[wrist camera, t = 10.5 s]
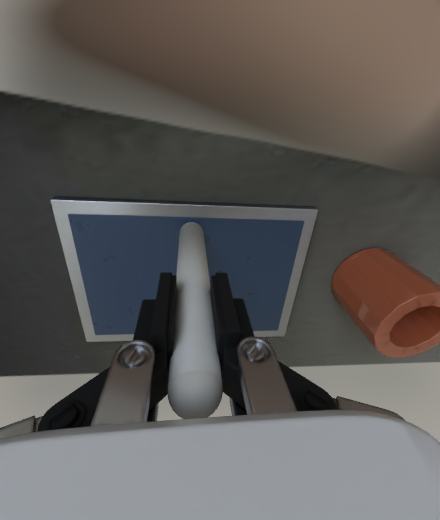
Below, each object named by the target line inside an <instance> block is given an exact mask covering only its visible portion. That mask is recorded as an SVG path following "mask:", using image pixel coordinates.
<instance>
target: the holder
mask: <svg viewBox="0 0 440 520" xmlns="http://www.w3.org/2000/svg"><path fill="white" fill-rule="evenodd" d="M331 288H332V292H333V294H334V296H335V298H336V299H337V301H338V302H339V303H340V304H341V306H342V307H343V308H344V309H345V311H346V312H347V313H348V314H349V316H350V317H351V318H352V319H353V321H354V322H355V323H356V324H357V326H358V327H359V328H360V329H361V331H362V332H363V333H364V334H365V336H366V337H367V338H368V339H369V341H370V342H371V343H372V344H373V346H374V347H375V348H376V349H377V350H378V351H379V352H380V353H382V354H383V355H384V356H388V357H395V358H403V357H408V356H413V355H417V354H420V353H422V352H424V351H426V350H428V349H430V348H433V347H434V346H437V345H438V344H439V343H440V285H439V284H438V283H436V282H435V281H433V280H432V279H430V278H429V277H427V276H426V275H424V274H423V273H421V272H420V271H418V270H417V269H416V268H414V267H413V266H411V265H410V264H408V263H407V262H405V261H404V260H402V259H401V258H399V257H398V256H396V255H395V254H393V253H391V252H389V251H387V250H385V249H381V248H369V249H365V250H361V251H359V252H357V253H355V254H353V255H351V256H350V257H348V258H347V259H346V260H345V261H344V262H342V263H341V265H340V266H339V267H338V268H337V270H336V271H335V273H334V276H333V278H332V283H331Z"/></svg>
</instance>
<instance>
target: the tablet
mask: <svg viewBox="0 0 440 520" xmlns="http://www.w3.org/2000/svg"><path fill="white" fill-rule="evenodd" d="M50 201H51V205H52V209H53V213H54V216H55V220H56V224H57V228H58V232H59V236H60V240H61V244H62V248H63V252H64V256H65V259H66V263H67V267H68V271H69V275H70V279H71V283H72V287H73V291H74V295H75V299H76V302H77V306H78V310H79V314H80V318H81V322H82V326H83V330H84V334H85V338H86V342H104V341H133V337H134V333H135V329H136V325H137V321H138V316H139V312H140V308H141V304H142V301H143V299H156V296H157V290H158V284H159V278H160V273H161V272H172V275H176V274H177V261H178V248H179V235H180V230H181V228H182V226H183V225H185V224H186V223H189V222H194V223H197V224H199V225H200V226H201V227H202V229H203V233H204V240H205V248H206V256H207V264H208V272H209V280H210V284H211V275H215V273H216V272H217V273H227V276H228V280H229V284H230V288H231V292H232V296H233V298H242V299H243V300H244V303H245V306H246V309H247V313H248V316H249V319H250V323H251V326H252V329H253V333H254V336H255V337H274V336H285V333H286V330H287V326H288V322H289V318H290V314H291V311H292V307H293V303H294V299H295V296H296V292H297V288H298V284H299V281H300V277H301V273H302V269H303V266H304V262H305V258H306V254H307V251H308V247H309V243H310V239H311V235H312V232H313V228H314V224H315V220H316V217H317V213H318V209H317V208H316V207H313V206H287V205H261V204H234V203H208V202H182V201H155V200H129V199H103V198H76V197H54V198H52V199H51V200H50Z"/></svg>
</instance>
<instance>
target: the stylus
mask: <svg viewBox="0 0 440 520" xmlns="http://www.w3.org/2000/svg"><path fill="white" fill-rule="evenodd" d="M176 276H177V296H176V312H175V328H174V343H173V355H172V356H171V358H170V364H169V377H168V390H167V391H168V399H169V403H170V405H171V407H172V409H173V411H174V412H175V413H176V414H177V415H178V416H180V417H181V418H183V419H195V418H207V417H209V416H210V415H211V414H213V413H214V411H215V410H216V409H217V407H218V406H219V403H220V401H221V398H222V393H223V384H222V376H221V368H220V360H219V356H218V352H217V344H216V336H215V328H214V320H213V312H212V303H211V295H210V280H209V272H208V264H207V256H206V248H205V240H204V233H203V229H202V227H201V226H200V225H199V224H197V223H194V222H189V223H186V224H185V225H183V226H182V228H181V230H180V235H179V248H178V261H177V274H176Z"/></svg>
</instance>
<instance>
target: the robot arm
mask: <svg viewBox="0 0 440 520" xmlns="http://www.w3.org/2000/svg"><path fill="white" fill-rule="evenodd" d="M210 295H211V303H212V312H213V320H214V328H215V336H216V344H217V352H218V356H219V360H220V368H221V376H222V384H223V392H224V393H225V394H226V395H228V396H229V397H230V406H231V412H232V416H224V417H210V418H195V419H181V420H167V421H157V415H158V403H159V402H160V401H161V400H162V399H163V398H164V397H165V396H166V395H167V394H168V391H167V390H168V377H169V364H170V358H171V356H172V355H173V343H174V328H175V312H176V296H177V276H176V275H172V272H161V273H160V278H159V284H158V290H157V296H156V299H143V301H142V304H141V308H140V312H139V316H138V321H137V325H136V329H135V333H134V337H133V341H130V342H127V343H125V344H123V345H122V346H120V347H119V348H118V349H117V350H116V352H115V354H114V356H113V359H112V362H111V365H110V367H109V368H107V369H106V370H104V371H103V372H102V373H100V374H99V375H98V376H96V377H94V378H93V379H91V380H90V381H88V382H87V383H86V384H84V385H83V386H81V387H80V388H78V389H77V390H75V391H74V392H72V393H71V394H69V395H68V396H67V397H65V398H64V399H62V400H61V401H59V402H58V403H56V404H55V405H54V406H52V407H51V408H50V409H49V410H48V411H47V412H46V413H45V414H44V416H41V417H39V418H35V416H32V417H29V418H26V419H23V420H21V421H18V422H15V423H13V424H10V425H7V426H4V427H2V428H0V520H440V442H438V440H436V439H435V438H434V437H433V436H431V435H430V434H429V433H428V432H426V431H425V430H423V429H421V428H419V427H418V426H416V425H413V424H411V423H409V422H407V421H405V420H404V419H403V418H402V417H400V416H399V415H398V414H396V413H394V412H391V411H389V410H386V409H382V408H379V407H375V406H371V405H368V404H364V403H360V402H357V401H353V400H350V399H346V398H343V397H339V396H337V398H336V399H335V398H332V397H331V396H330V395H329V394H328V393H327V392H326V391H325V390H323V389H322V388H321V387H319V386H317V385H316V384H314V383H312V382H311V381H309V380H308V379H306V378H305V377H303V376H301V375H300V374H298V373H297V372H295V371H293V370H292V369H290V368H289V367H287V366H285V365H284V364H282V363H281V362H279V361H278V360H277V358H276V355H275V352H274V350H273V348H272V346H271V345H270V344H269V343H268V342H267V341H265V340H264V339H262V338H259V337H255V336H254V333H253V329H252V326H251V323H250V319H249V316H248V313H247V309H246V306H245V303H244V300H243V299H242V298H233V296H232V292H231V288H230V284H229V280H228V276H227V273H217V272H216V273H215V275H211V284H210Z"/></svg>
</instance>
